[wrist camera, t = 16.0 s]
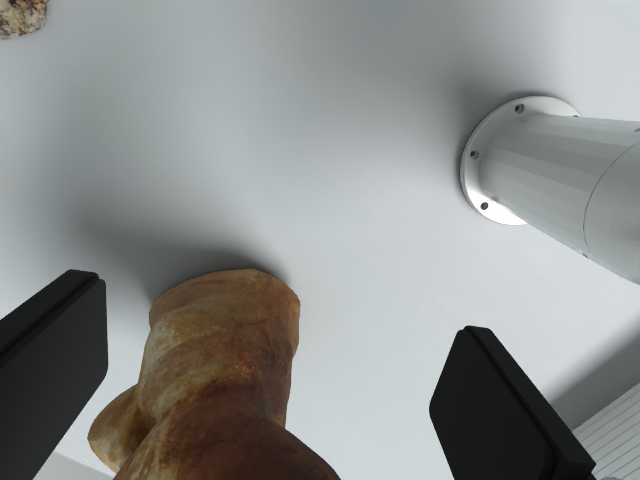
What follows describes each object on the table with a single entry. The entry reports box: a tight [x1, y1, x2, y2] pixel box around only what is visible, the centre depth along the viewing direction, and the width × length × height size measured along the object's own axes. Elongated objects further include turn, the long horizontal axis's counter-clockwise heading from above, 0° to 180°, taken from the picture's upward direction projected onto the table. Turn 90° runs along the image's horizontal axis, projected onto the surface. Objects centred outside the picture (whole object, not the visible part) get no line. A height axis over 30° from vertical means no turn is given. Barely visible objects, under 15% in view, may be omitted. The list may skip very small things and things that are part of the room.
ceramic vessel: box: [87, 268, 341, 480], centre depth 28 cm, size 16×22×30 cm
